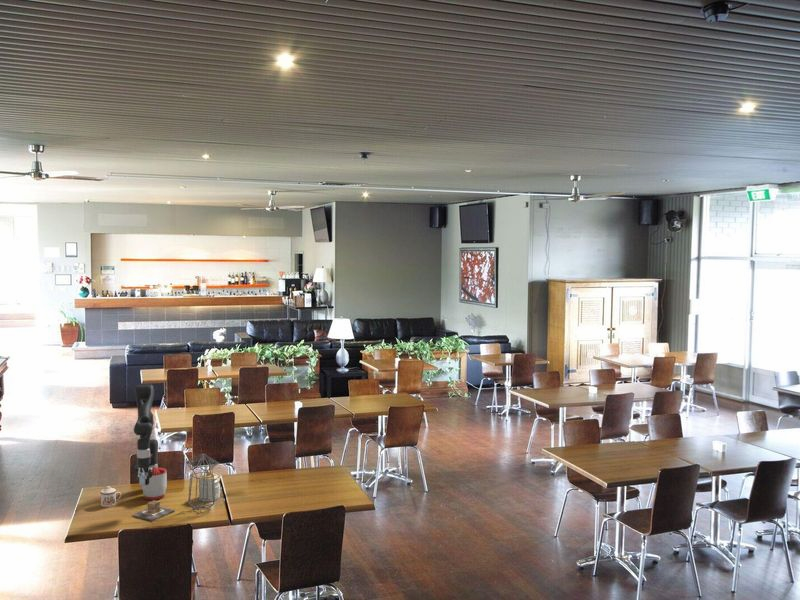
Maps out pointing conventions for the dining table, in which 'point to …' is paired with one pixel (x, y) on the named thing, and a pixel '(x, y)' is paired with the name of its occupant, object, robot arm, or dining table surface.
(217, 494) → the jar
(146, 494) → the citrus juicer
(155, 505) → the walnut block
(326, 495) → the dining table surface
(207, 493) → the geometric lantern
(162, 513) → the building board
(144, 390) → the robot arm
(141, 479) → the pale blue rounded ovoid
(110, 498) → the teacup with lid
